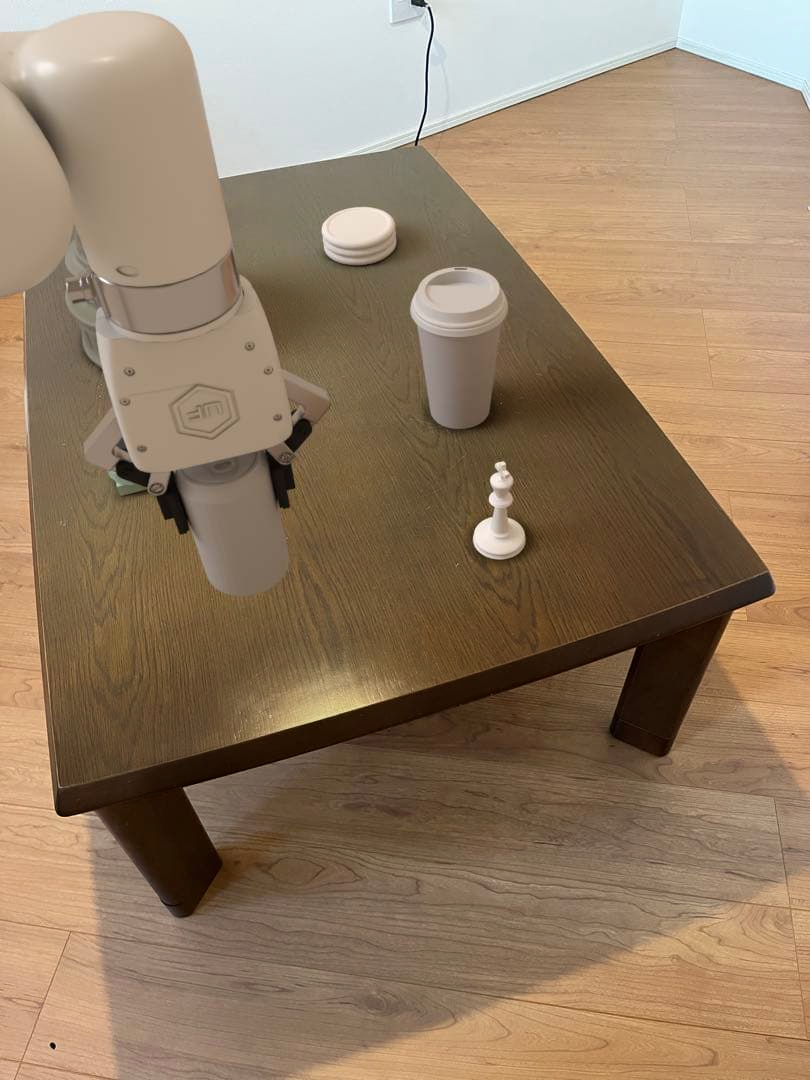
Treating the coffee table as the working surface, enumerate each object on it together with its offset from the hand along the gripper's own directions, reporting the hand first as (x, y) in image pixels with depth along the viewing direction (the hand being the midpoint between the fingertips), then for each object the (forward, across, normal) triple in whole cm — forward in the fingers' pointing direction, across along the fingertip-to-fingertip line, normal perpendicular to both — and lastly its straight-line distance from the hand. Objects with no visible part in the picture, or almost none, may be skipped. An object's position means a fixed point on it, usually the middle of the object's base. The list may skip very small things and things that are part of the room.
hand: (232, 506), depth 59 cm
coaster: (+17, +25, +61) cm, 68 cm away
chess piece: (+17, +23, +5) cm, 29 cm away
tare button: (+15, -9, +26) cm, 32 cm away
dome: (+18, -3, +52) cm, 55 cm away
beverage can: (+7, 0, 0) cm, 7 cm away
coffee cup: (+17, +26, +24) cm, 39 cm away
